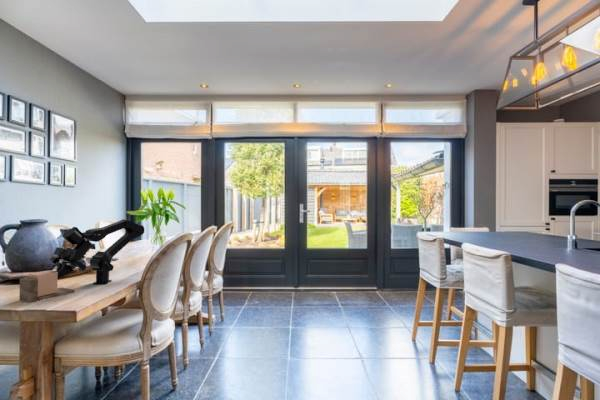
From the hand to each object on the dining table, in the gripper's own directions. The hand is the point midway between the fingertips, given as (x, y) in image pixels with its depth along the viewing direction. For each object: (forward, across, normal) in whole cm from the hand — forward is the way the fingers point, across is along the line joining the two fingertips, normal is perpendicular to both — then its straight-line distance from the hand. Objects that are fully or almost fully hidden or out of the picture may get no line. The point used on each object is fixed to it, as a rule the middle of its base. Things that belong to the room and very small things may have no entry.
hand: (53, 279), depth 149 cm
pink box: (+7, 0, +1) cm, 7 cm away
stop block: (+7, 0, +3) cm, 7 cm away
